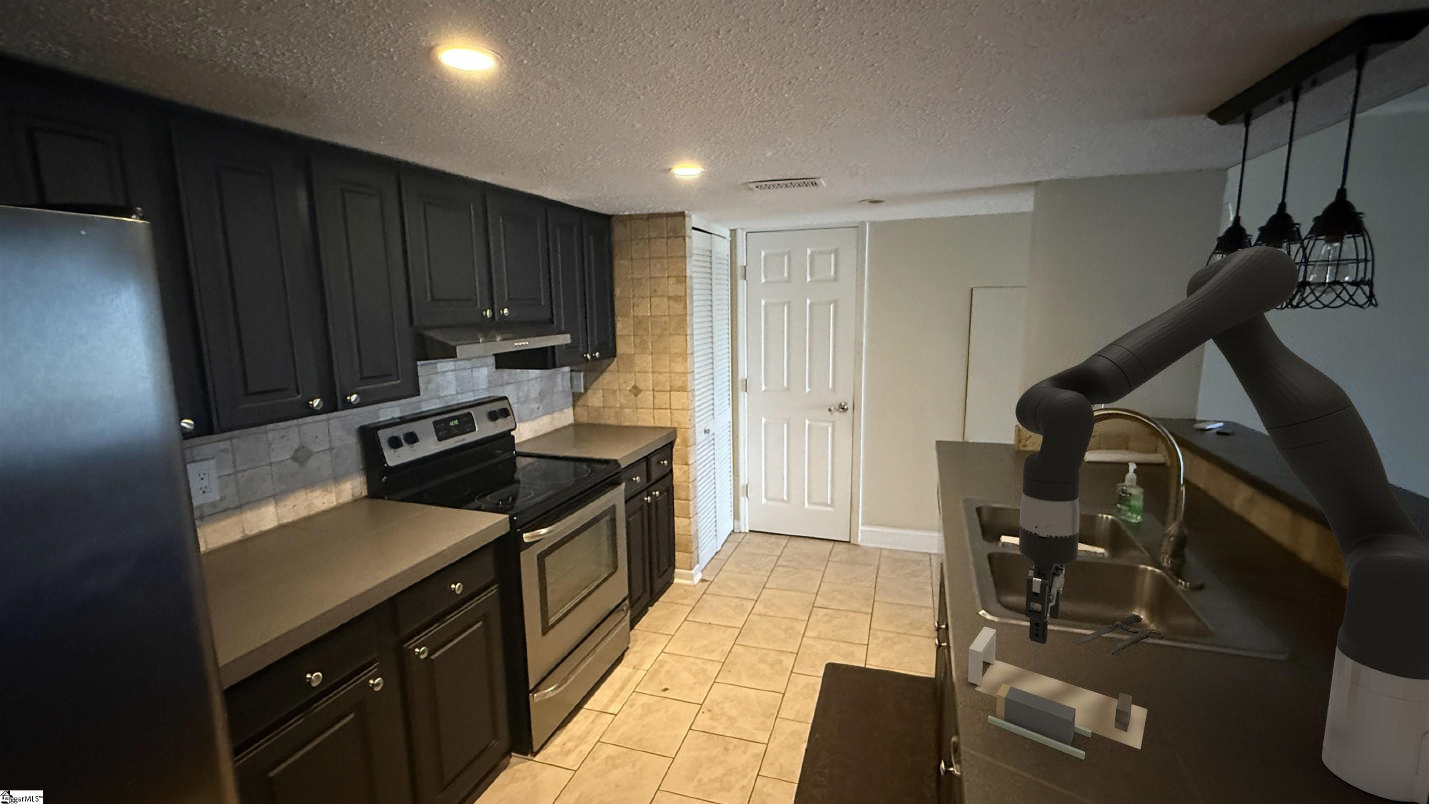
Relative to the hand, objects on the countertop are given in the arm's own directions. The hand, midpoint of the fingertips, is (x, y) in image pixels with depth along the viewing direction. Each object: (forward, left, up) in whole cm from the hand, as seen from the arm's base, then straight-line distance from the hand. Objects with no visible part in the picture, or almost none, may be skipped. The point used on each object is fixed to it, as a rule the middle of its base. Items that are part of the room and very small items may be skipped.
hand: (1044, 628), depth 89 cm
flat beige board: (-1, -10, -17) cm, 20 cm away
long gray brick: (0, 0, -17) cm, 17 cm away
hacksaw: (-7, -36, -18) cm, 41 cm away
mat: (0, 0, -17) cm, 17 cm away
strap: (+11, -10, -17) cm, 23 cm away
